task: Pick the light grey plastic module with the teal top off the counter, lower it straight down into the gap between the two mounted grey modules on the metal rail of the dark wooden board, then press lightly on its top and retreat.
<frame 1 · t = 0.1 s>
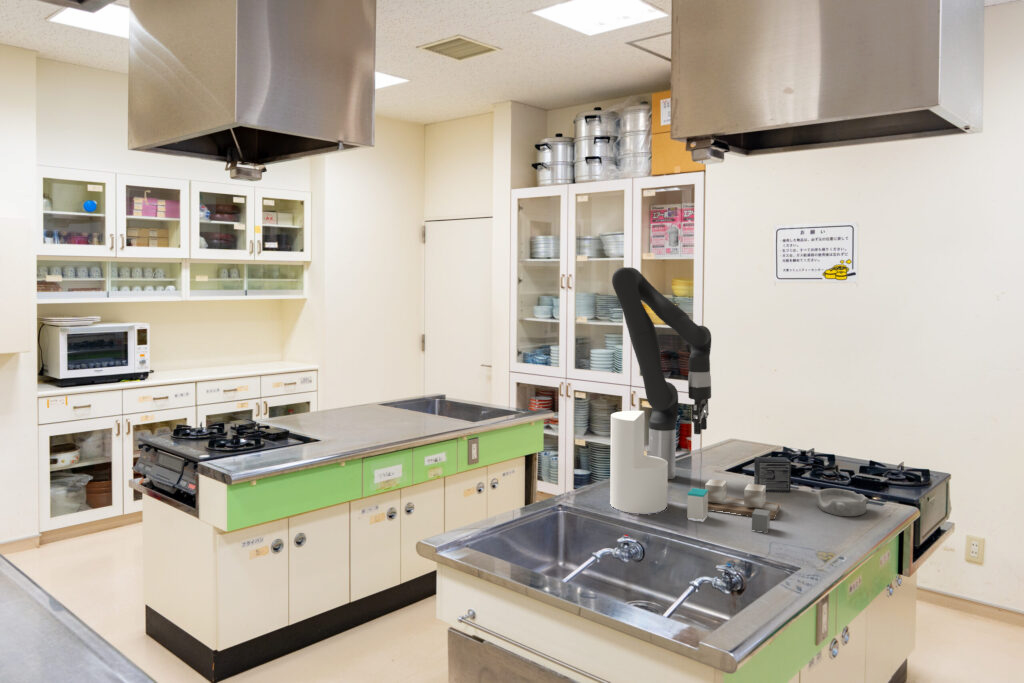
hand: (700, 431, 257), 17 cm above the counter, tool pointing down, fingers open, 8 cm apart
small box: (772, 490, 247), on the counter
dish: (842, 511, 226), on the counter
module: (697, 518, 219), on the counter
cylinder: (638, 506, 231), on the counter
grey block: (760, 529, 209), on the counter
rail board: (734, 508, 228), on the counter
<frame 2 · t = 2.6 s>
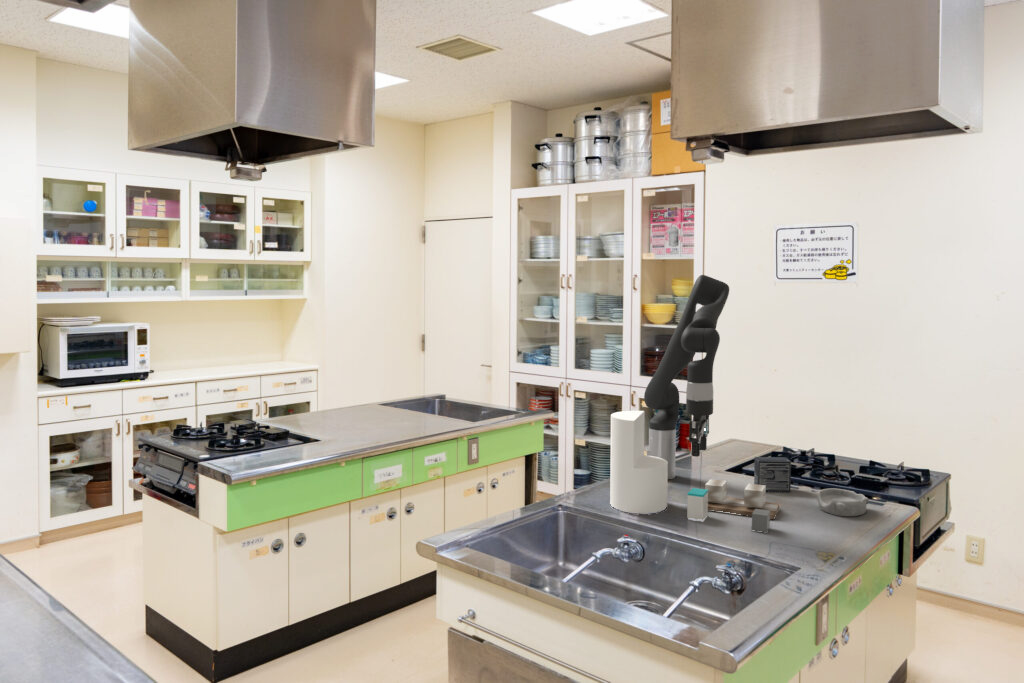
hand: (699, 453, 217), 19 cm above the counter, tool pointing down, fingers open, 8 cm apart
nothing on the counter moved.
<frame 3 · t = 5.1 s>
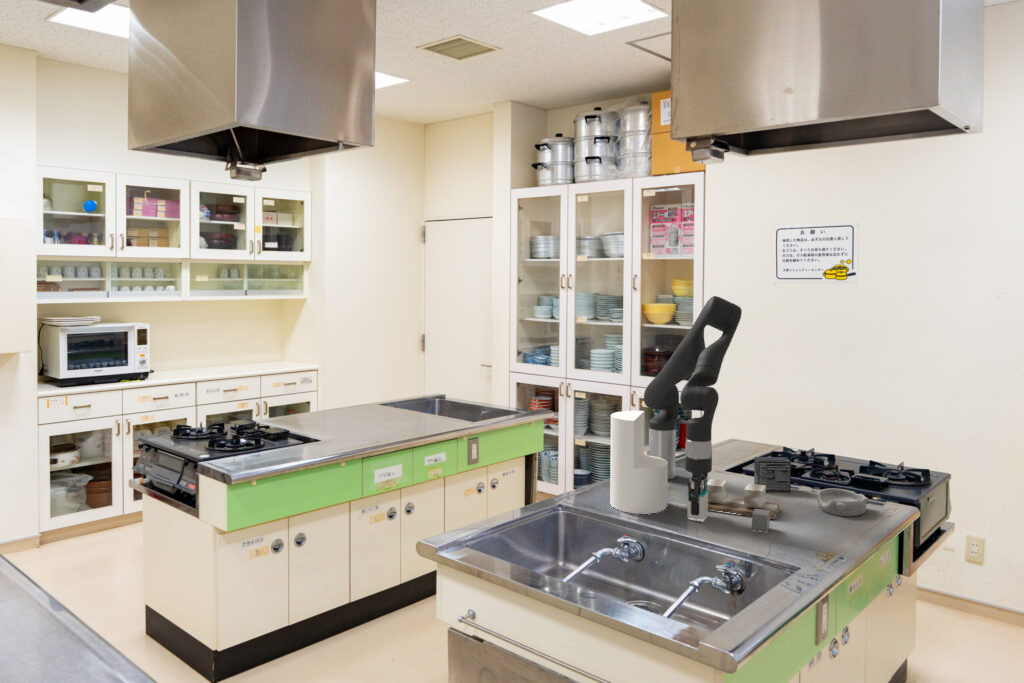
hand: (697, 511, 219), 2 cm above the counter, tool pointing down, fingers closed on module, 6 cm apart
module: (697, 518, 219), on the counter, touching gripper
everything else where it was.
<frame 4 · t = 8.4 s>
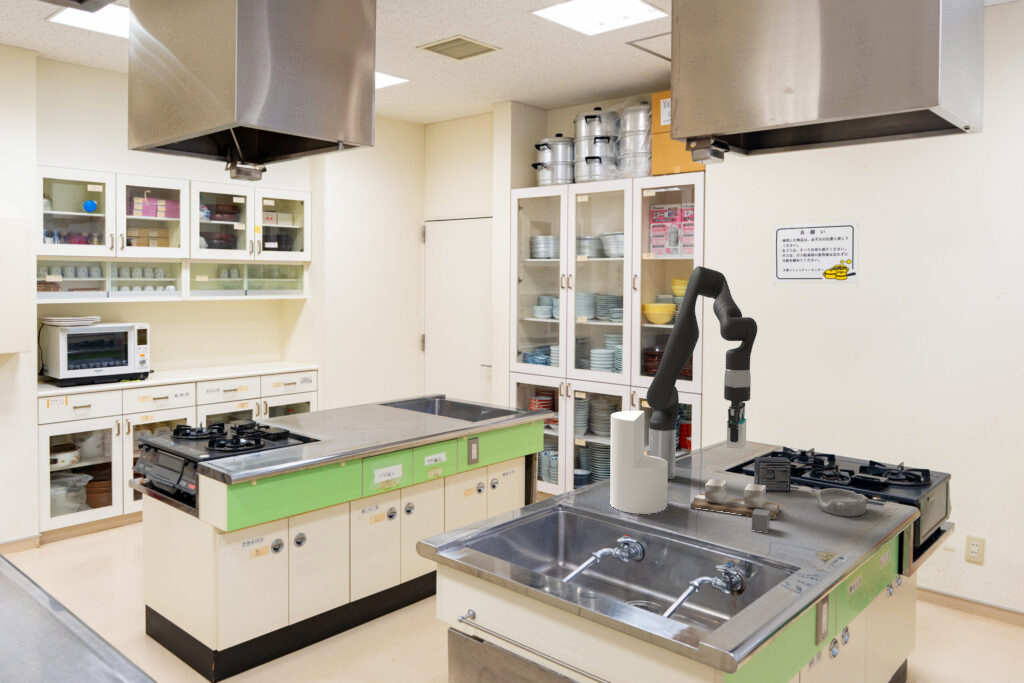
hand: (736, 439, 226), 21 cm above the counter, tool pointing down, fingers closed on module, 6 cm apart
module: (736, 446, 226), point 19 cm above the counter, touching gripper
everything else where it was.
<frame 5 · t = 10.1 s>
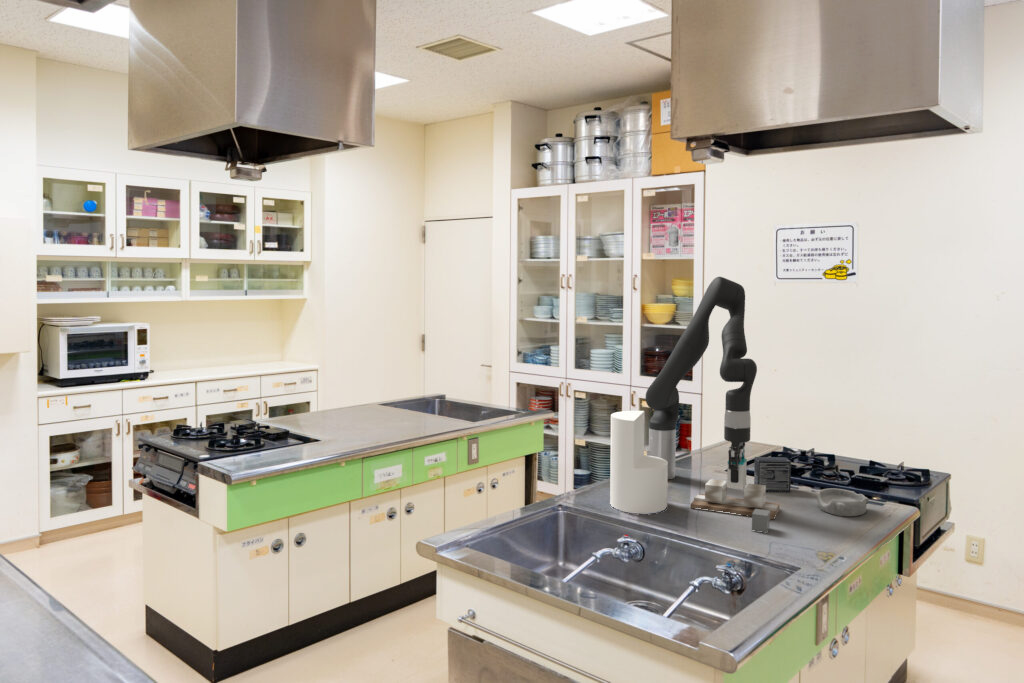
hand: (736, 479, 227), 9 cm above the counter, tool pointing down, fingers closed on module, 6 cm apart
module: (736, 486, 227), point 7 cm above the counter, touching gripper
everything else where it was.
when the fingers open (6 cm above the counter, at t = 11.7 s): module drops 1 cm, resting on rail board.
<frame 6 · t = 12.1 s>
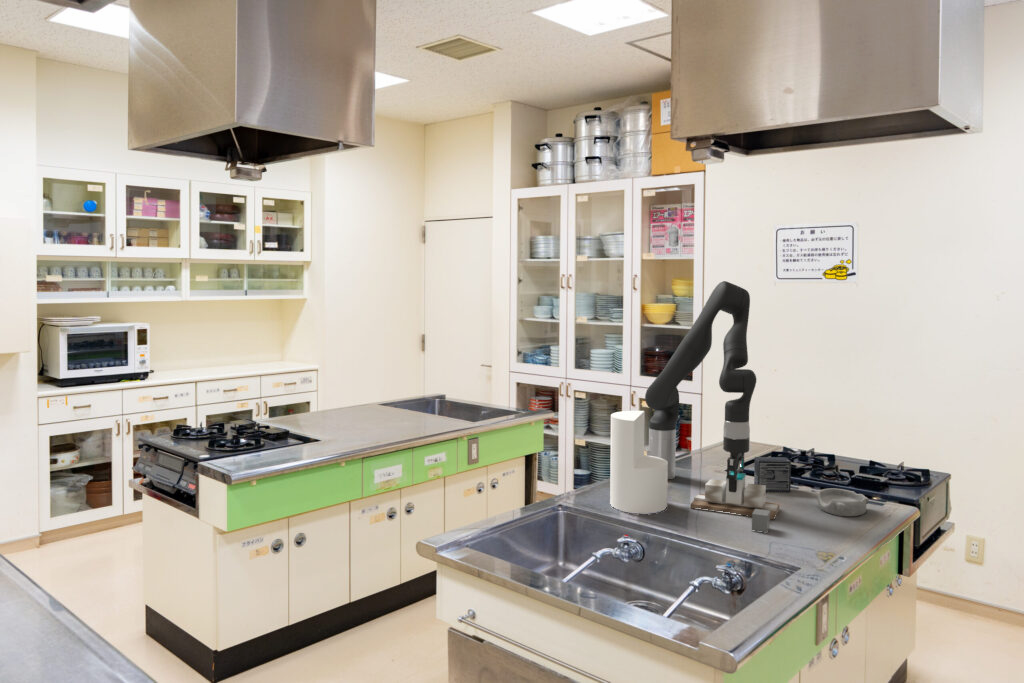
hand: (735, 488, 227), 6 cm above the counter, tool pointing down, fingers open, 8 cm apart
module: (735, 501, 228), point 2 cm above the counter, touching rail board
everything else where it was.
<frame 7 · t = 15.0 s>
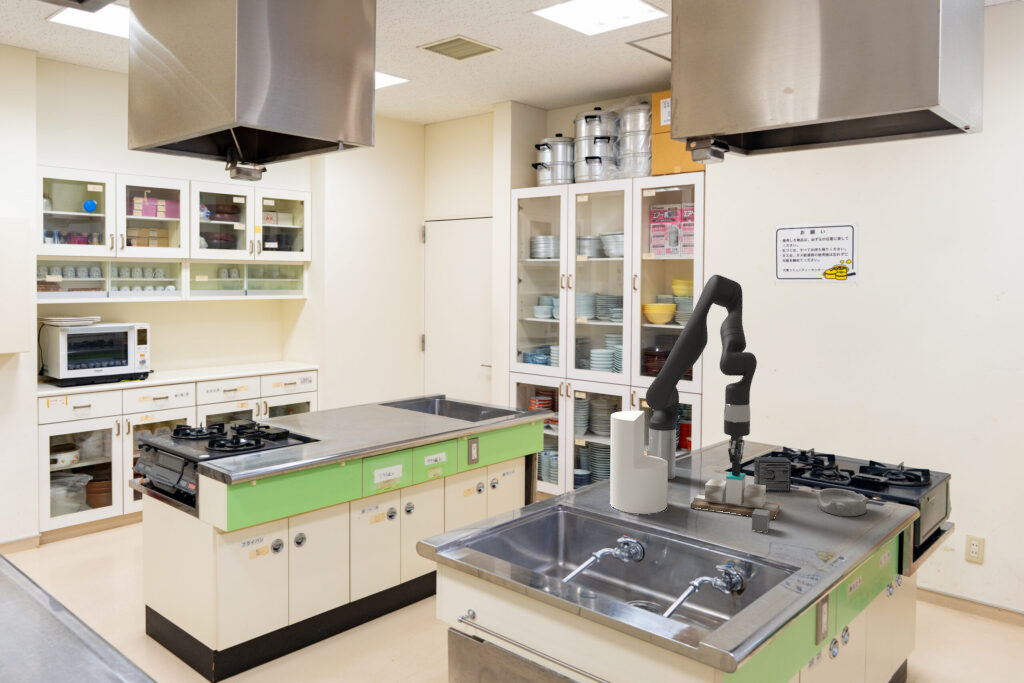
hand: (736, 475, 227), 10 cm above the counter, tool pointing down, fingers closed
module: (735, 501, 228), point 2 cm above the counter, touching gripper, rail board
everything else where it was.
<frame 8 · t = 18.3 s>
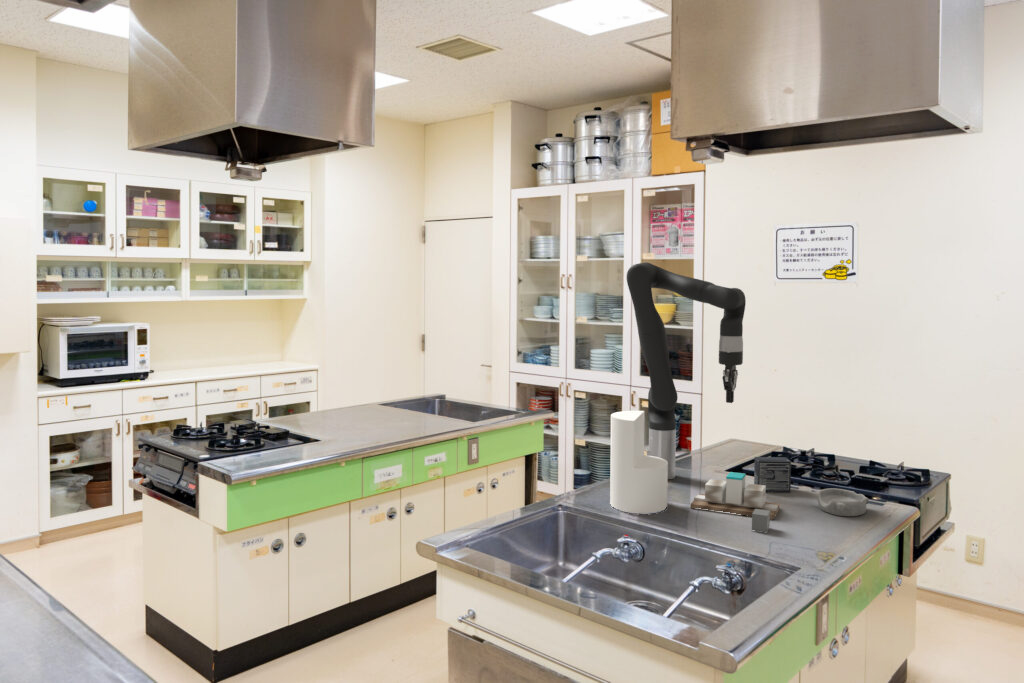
hand: (729, 402, 246), 29 cm above the counter, tool pointing down, fingers closed
module: (735, 501, 228), point 2 cm above the counter, touching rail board
everything else where it was.
at the end: module 0.2 cm off-centre on the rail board, point 2.3 cm above the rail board's base; module tilted 0°; the gripper is holding nothing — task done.
